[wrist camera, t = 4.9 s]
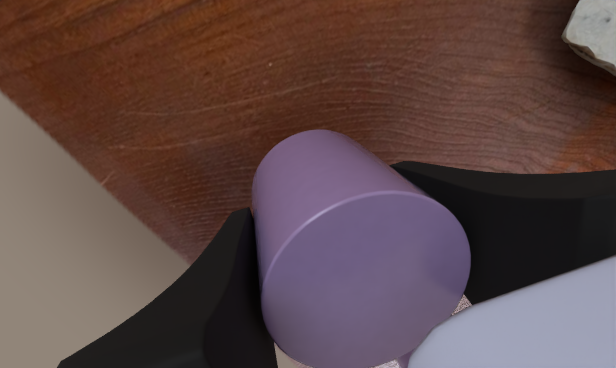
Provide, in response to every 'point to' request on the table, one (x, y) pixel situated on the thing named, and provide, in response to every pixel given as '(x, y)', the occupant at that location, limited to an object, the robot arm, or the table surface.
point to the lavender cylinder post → (351, 253)
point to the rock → (594, 32)
